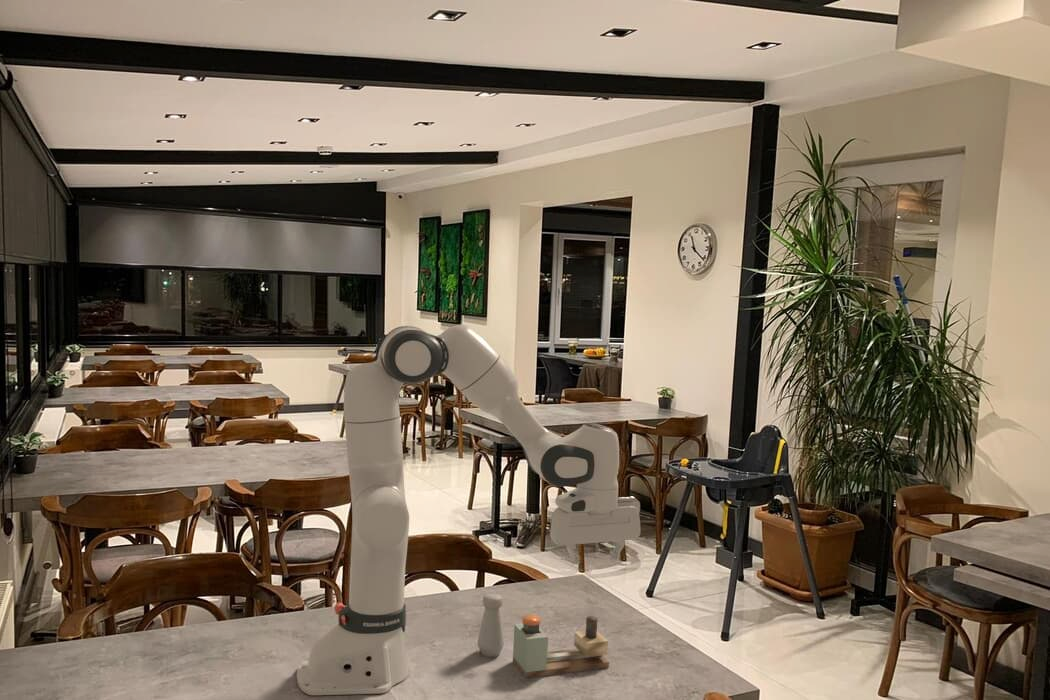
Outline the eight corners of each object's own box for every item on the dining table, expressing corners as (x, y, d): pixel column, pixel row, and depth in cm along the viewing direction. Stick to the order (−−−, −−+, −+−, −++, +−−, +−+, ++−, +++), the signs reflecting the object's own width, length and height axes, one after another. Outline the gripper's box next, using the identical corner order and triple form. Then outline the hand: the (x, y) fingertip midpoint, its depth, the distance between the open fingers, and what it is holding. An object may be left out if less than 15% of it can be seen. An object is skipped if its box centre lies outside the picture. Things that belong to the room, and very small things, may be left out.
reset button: (525, 645, 170) (526, 622, 170) (519, 637, 174) (520, 615, 174) (542, 643, 172) (543, 621, 172) (535, 636, 175) (536, 614, 175)
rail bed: (525, 677, 169) (525, 667, 169) (512, 661, 176) (513, 651, 176) (608, 667, 175) (609, 657, 175) (592, 651, 183) (593, 642, 183)
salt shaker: (499, 660, 176) (502, 601, 176) (474, 657, 177) (476, 598, 177) (505, 649, 182) (508, 592, 181) (481, 646, 183) (483, 589, 182)
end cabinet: (525, 672, 169) (527, 639, 168) (513, 655, 176) (514, 624, 176) (546, 669, 170) (548, 636, 170) (532, 653, 178) (534, 622, 177)
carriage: (585, 657, 174) (587, 625, 174) (574, 644, 180) (575, 613, 180) (607, 654, 176) (608, 623, 175) (594, 642, 182) (596, 611, 181)
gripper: (633, 492, 183) (630, 553, 183) (548, 497, 175) (546, 561, 176) (647, 499, 177) (644, 562, 178) (559, 505, 170) (557, 570, 170)
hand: (594, 561), depth 177 cm, fingers open, 8 cm apart
